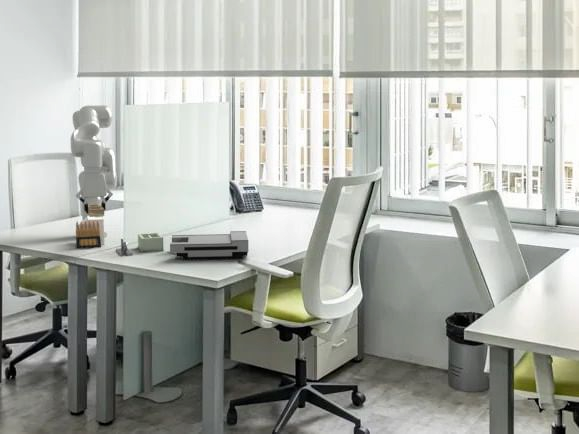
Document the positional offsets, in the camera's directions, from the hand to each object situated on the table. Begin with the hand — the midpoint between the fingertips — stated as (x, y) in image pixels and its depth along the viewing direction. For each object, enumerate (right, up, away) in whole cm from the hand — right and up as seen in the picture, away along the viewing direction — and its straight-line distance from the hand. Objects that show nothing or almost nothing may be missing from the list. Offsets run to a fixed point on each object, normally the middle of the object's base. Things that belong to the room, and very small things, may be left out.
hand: (95, 212), depth 321 cm
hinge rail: (+12, -17, +1) cm, 21 cm away
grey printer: (+49, -19, -2) cm, 53 cm away
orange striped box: (-7, -14, +19) cm, 25 cm away
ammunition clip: (-6, -16, +11) cm, 20 cm away
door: (0, -1, 0) cm, 1 cm away
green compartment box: (+22, -16, +8) cm, 29 cm away
